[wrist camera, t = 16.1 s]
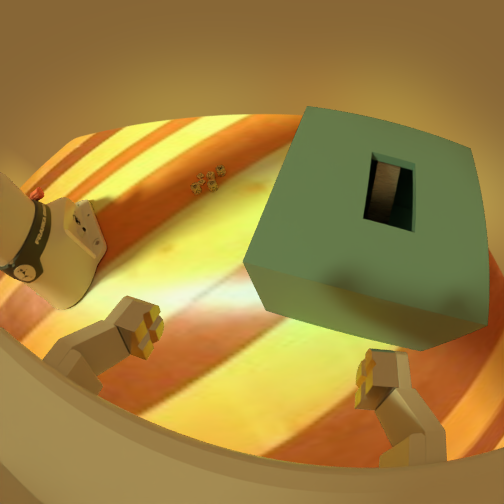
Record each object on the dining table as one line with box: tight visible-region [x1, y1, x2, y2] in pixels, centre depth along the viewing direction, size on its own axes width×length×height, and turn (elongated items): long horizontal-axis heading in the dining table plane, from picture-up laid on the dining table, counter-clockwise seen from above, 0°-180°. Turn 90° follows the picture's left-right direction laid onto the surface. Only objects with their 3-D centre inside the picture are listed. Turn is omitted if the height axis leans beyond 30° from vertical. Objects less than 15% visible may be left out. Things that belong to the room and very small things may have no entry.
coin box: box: [243, 106, 489, 351], centre depth 27 cm, size 20×20×14 cm
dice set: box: [191, 165, 226, 195], centre depth 43 cm, size 5×5×2 cm
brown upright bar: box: [364, 160, 400, 225], centre depth 29 cm, size 5×2×10 cm
